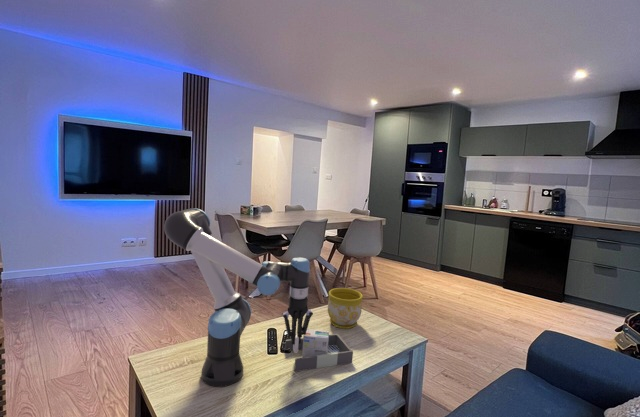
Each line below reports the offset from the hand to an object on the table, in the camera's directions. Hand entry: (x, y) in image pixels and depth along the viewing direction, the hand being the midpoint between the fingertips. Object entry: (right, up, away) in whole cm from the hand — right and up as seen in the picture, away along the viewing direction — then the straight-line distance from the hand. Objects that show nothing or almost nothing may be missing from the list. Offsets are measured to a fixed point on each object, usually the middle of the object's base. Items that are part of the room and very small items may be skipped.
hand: (295, 350), depth 137 cm
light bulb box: (+8, -5, +4) cm, 10 cm away
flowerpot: (+22, -2, +38) cm, 44 cm away
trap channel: (+9, -4, +4) cm, 11 cm away
